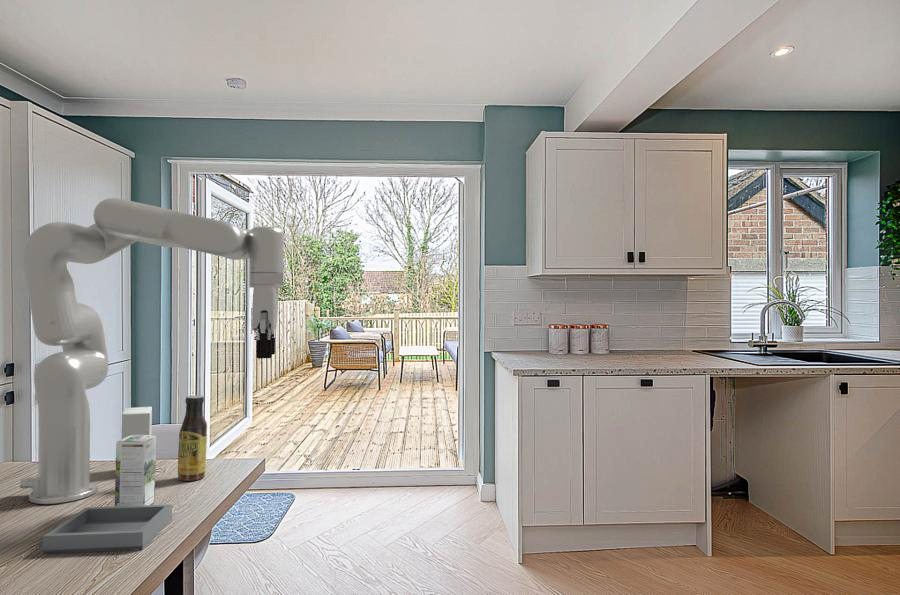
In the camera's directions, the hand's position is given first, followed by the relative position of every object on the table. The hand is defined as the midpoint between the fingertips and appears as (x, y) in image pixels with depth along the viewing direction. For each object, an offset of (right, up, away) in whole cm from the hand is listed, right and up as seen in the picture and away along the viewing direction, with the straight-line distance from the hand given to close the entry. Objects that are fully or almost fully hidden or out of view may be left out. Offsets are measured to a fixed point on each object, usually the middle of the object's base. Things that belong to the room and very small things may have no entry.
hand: (266, 356), depth 134 cm
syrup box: (-23, -30, -12) cm, 40 cm away
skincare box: (-37, -31, +14) cm, 50 cm away
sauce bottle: (-20, -31, +8) cm, 38 cm away
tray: (-19, -30, -27) cm, 45 cm away
